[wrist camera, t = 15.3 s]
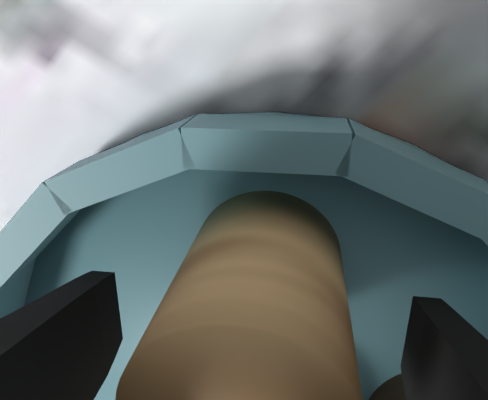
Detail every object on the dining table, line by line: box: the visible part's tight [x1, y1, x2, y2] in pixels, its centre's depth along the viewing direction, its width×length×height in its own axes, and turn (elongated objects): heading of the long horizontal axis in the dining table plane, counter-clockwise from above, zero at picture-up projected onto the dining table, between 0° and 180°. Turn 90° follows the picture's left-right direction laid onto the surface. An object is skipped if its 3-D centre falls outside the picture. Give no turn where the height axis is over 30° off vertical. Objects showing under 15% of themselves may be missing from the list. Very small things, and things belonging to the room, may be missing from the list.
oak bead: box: [115, 191, 363, 400], centre depth 10 cm, size 4×4×6 cm
